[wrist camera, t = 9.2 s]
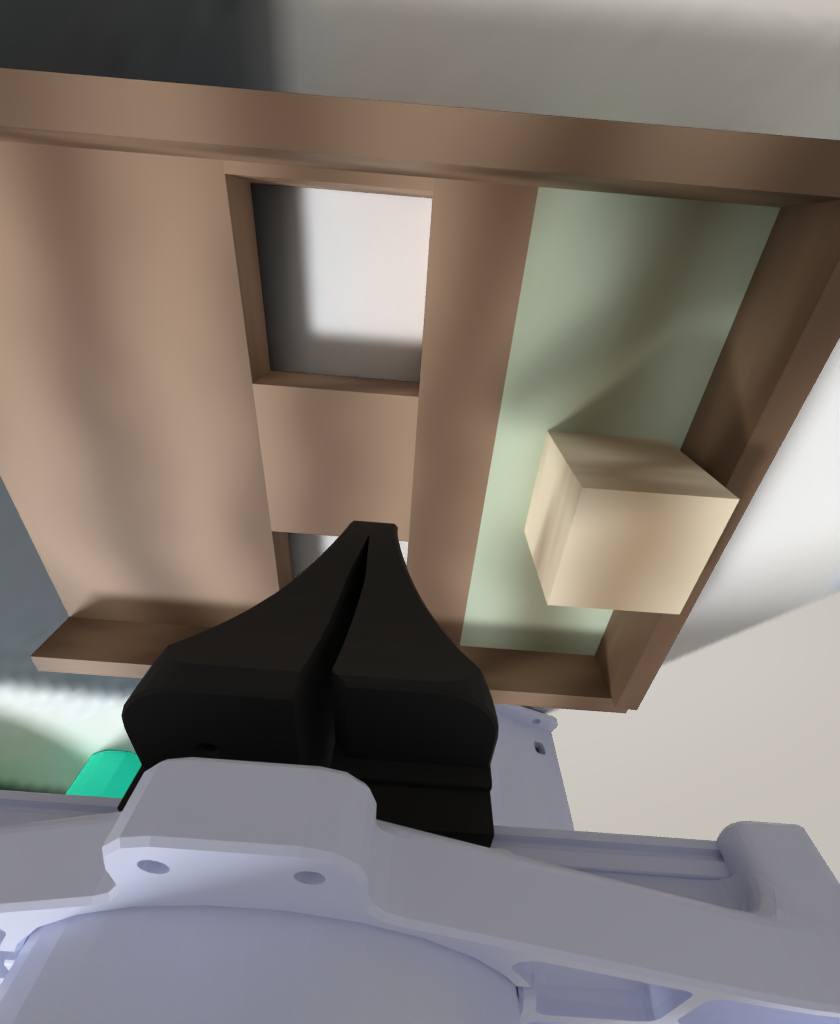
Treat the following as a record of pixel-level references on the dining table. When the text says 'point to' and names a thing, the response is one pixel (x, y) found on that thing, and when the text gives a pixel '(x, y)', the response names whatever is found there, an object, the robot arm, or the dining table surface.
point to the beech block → (622, 522)
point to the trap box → (376, 402)
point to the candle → (106, 774)
